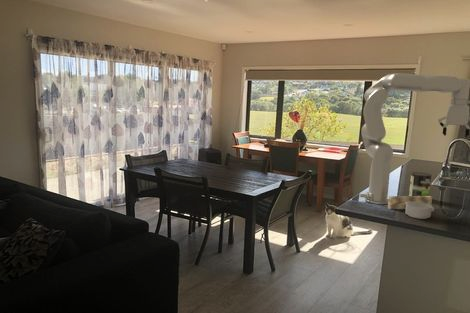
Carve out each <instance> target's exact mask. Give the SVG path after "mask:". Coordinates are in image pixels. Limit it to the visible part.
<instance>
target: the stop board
mask: <svg viewBox="0 0 470 313" xmlns="http://www.w3.org/2000/svg"><path fill="white" fill-rule="evenodd" d="M387 199H388V204H387V209H389V210H406V204H405V203H406V202H422V203H426V204H430V205H432V202H433V201H432V200H433V197H432V196H430V195H429V196H409V195H403V196H402V195H397V196H396V195H393V196H392V195H390V196H389V195H388V198H387Z"/></svg>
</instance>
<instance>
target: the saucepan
mask: <svg viewBox="0 0 470 313" xmlns="http://www.w3.org/2000/svg"><path fill="white" fill-rule="evenodd" d="M405 204H406V209H404V210H405V215H408V217H411V218H414V219H418V220H425V219H428V218H429V219H430V218H431V216H432V212H434V213H437V212H439V211H448V212H454V211H455V209H454V208H448V207H447V208H446V207H433V205H432V204H431V205H430V204H426V203H422V202H406V203H405Z"/></svg>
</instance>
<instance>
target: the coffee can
mask: <svg viewBox="0 0 470 313" xmlns="http://www.w3.org/2000/svg"><path fill="white" fill-rule="evenodd" d="M432 176H433V175H432V174H431V173H426V172H418V171H417V172H414V171H413V172H411V173H410V184H409V193H408V196H430V192H431V185H432V184H431V183H432Z"/></svg>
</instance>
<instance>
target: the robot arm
mask: <svg viewBox="0 0 470 313" xmlns="http://www.w3.org/2000/svg"><path fill="white" fill-rule="evenodd" d="M391 91H404V92H405V91H406V92H416V93H417V92H419V93H421V92H422V93H423V92H424V93H425V92H438V93H440V94H445V93H447V94H448V93H451V97H450V105H448V107H447V112H446V115H445V116H443V117H440V118H438V119H437V122H438V123H439V125H440V127H442V135H443V136H447V132H448V131H447V129H448V128H447V127H448V126H449V125H452V126H465V128H466V129H465V137H466V138H467V137H468V136H470V125H469V124H470V123H469V122H470V106H469V104H470V100H469V95H470V78H463V77H461V78H459V77H456V76H450V75H431V74H416V73H413V74H412V73H401V72H395V73H389V74H386V75H384V76H383V77H382V78H380V79H379V80H377V82H375V83H374V84H372V85H371V86H370V87H368V89H366V91H365V92H364V95H363V97H364V98H363V99H364V101H365V104H364V106H363V113H362V114H363V118H364V124H363V125H362V126H361V134H360V135H361V138H362V142H363V145H364V150H365V153H366V154H367V155H368V156H369V157H370V158H372V160H371V165H370V169H369V170H370V172H369V184H368V185H369V186H368V191H366V193H359V198H363V199H364V200H365V201H366V202H368V203H369V204H376V205H388V199H389V188H390V187H389V184H390V174H391V166H392V164H391V163H392V160H393V156H394V149H393V147H392V146H391V145H390V144H388V143H386V142H383V141H382V140H384V139H385V137H386V134H387V132H386V131H387V130H386V127H385V123H384V120H383V115H382V107H383V105H384V103H385V102H386V101H387V100H388V97H389V93H390V92H391ZM444 120H445V123H443V121H444Z"/></svg>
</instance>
